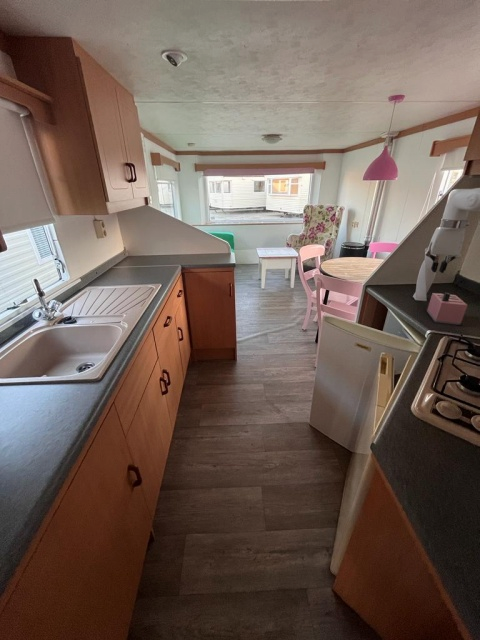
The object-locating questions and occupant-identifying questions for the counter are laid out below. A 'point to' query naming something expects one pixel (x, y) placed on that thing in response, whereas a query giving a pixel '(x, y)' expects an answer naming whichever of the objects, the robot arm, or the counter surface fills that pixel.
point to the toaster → (446, 309)
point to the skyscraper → (424, 279)
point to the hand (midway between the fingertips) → (437, 271)
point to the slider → (446, 297)
